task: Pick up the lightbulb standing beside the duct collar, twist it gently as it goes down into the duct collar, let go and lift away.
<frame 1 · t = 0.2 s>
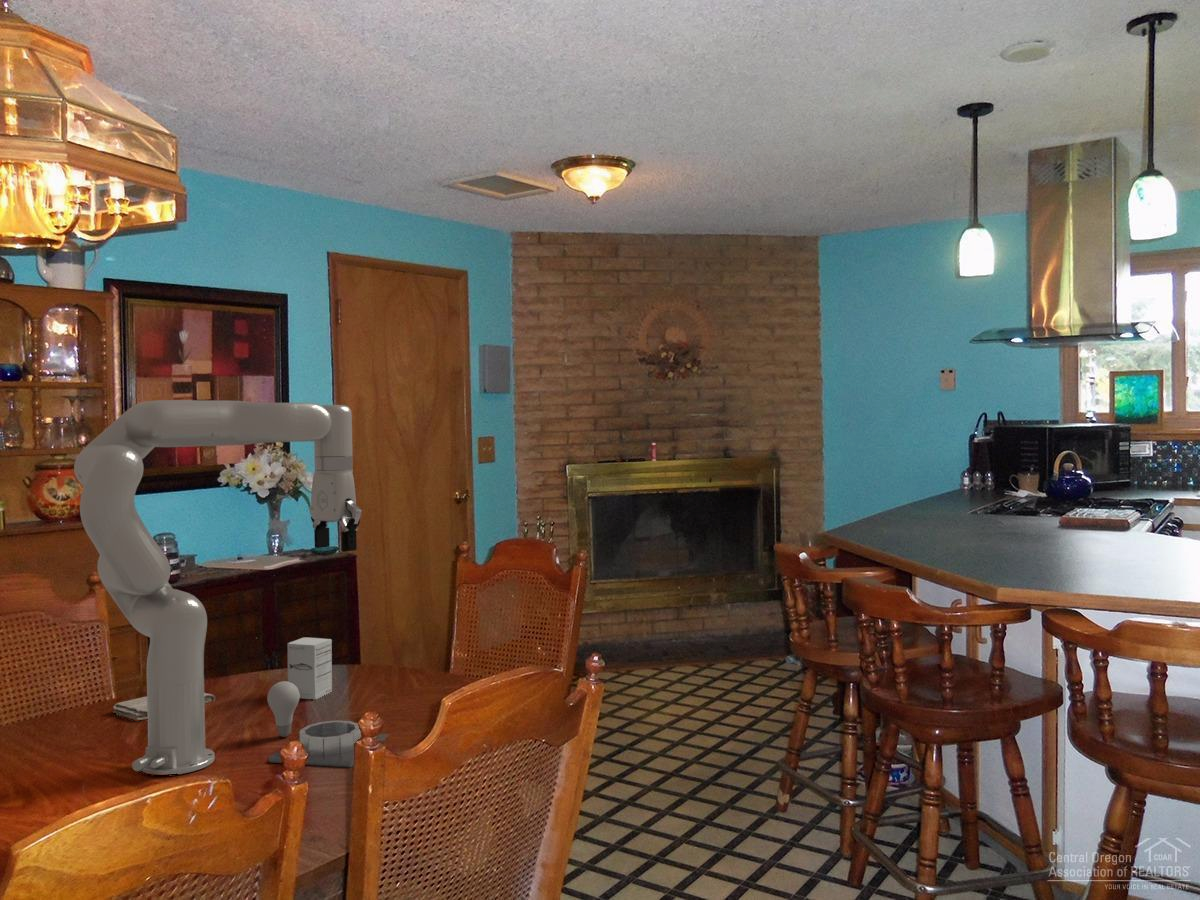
hand: (335, 549, 197), 36 cm above the table, tool pointing down, fingers open, 9 cm apart
lightbulb: (284, 738, 190), on the table
washcloth: (163, 711, 211), on the table
duct collar: (330, 750, 182), on the table
supplement box: (310, 696, 221), on the table
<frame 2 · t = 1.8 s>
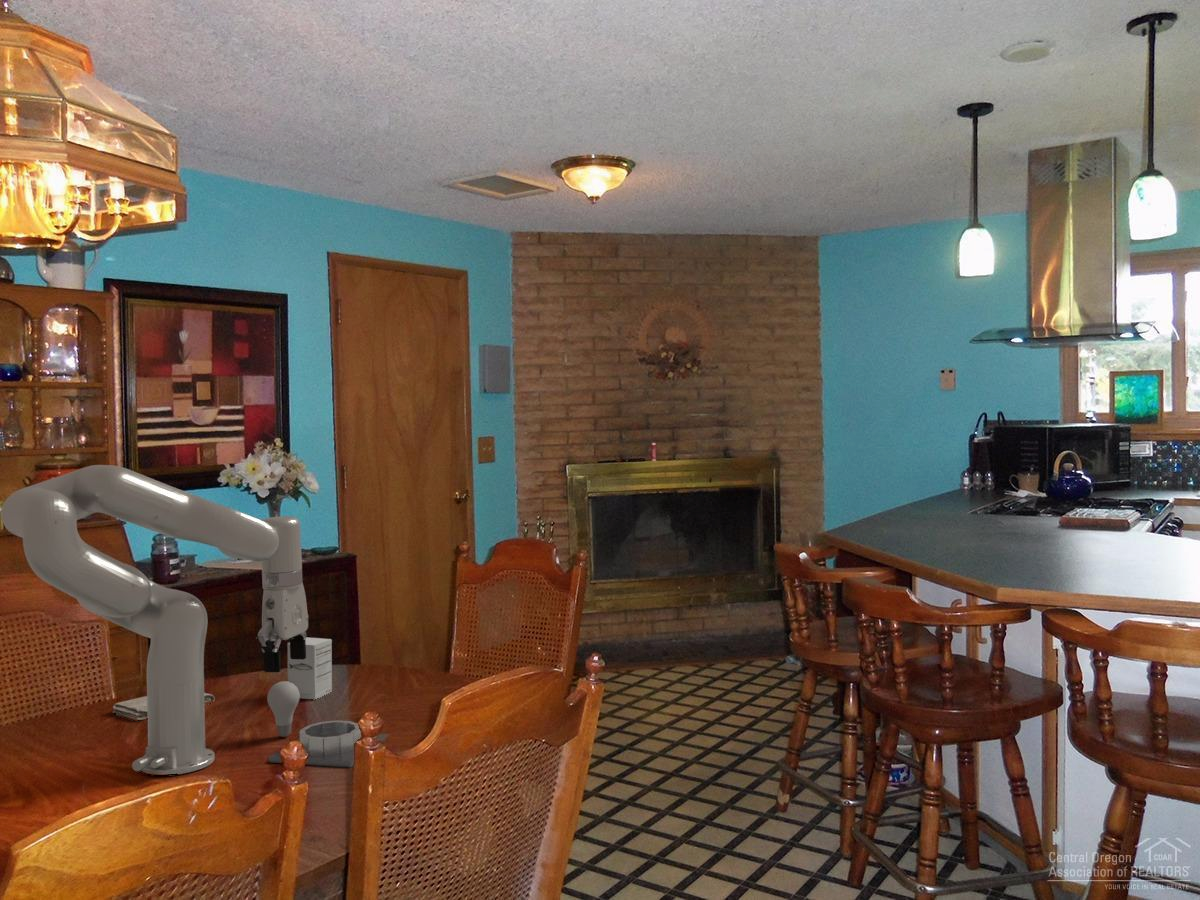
hand: (285, 665, 191), 14 cm above the table, tool pointing down, fingers open, 9 cm apart
nothing on the table moved.
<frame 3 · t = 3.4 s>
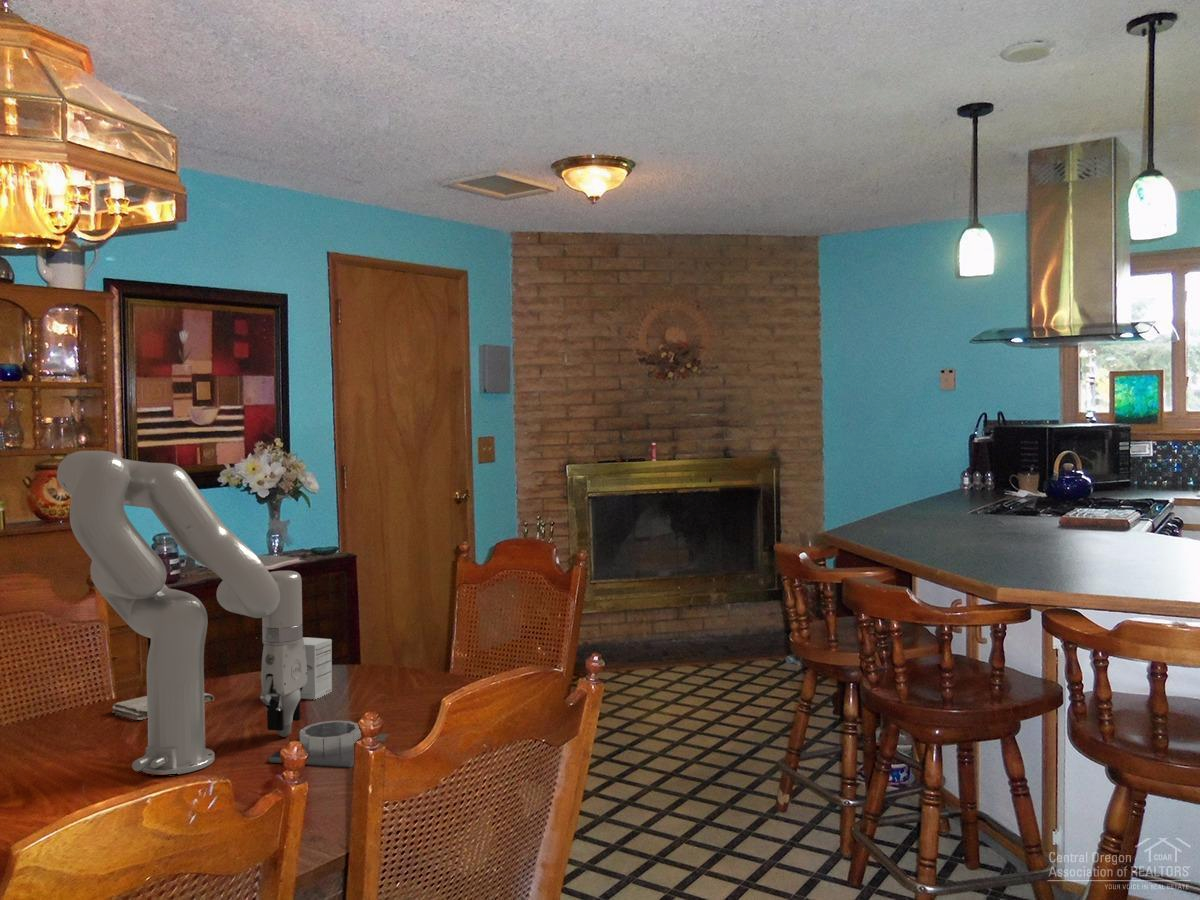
hand: (284, 724, 190), 3 cm above the table, tool pointing down, fingers closed on lightbulb, 5 cm apart
lightbulb: (284, 737, 190), on the table, touching gripper
everything else where it was.
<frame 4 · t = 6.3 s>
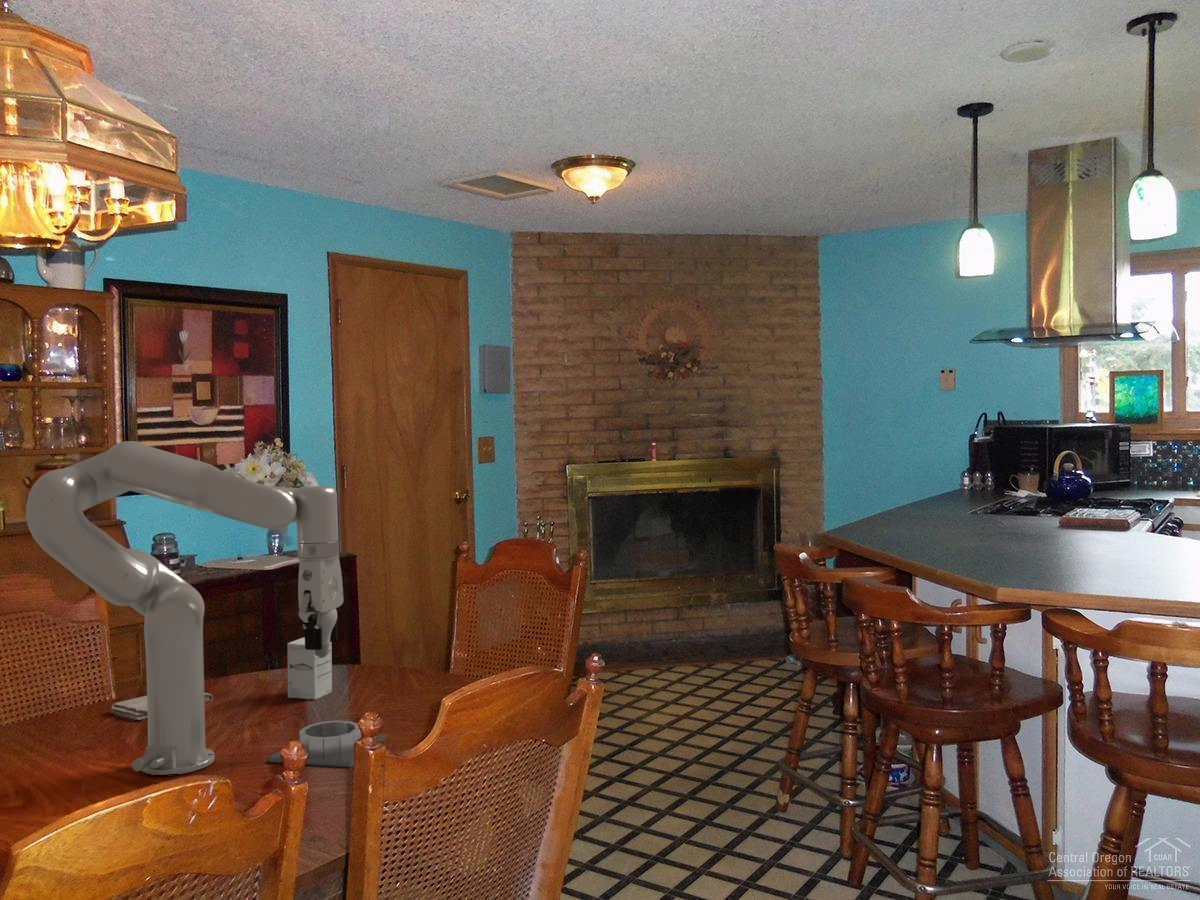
hand: (321, 644, 183), 20 cm above the table, tool pointing down, fingers closed on lightbulb, 5 cm apart
lightbulb: (321, 658, 183), point 17 cm above the table, touching gripper
everything else where it was.
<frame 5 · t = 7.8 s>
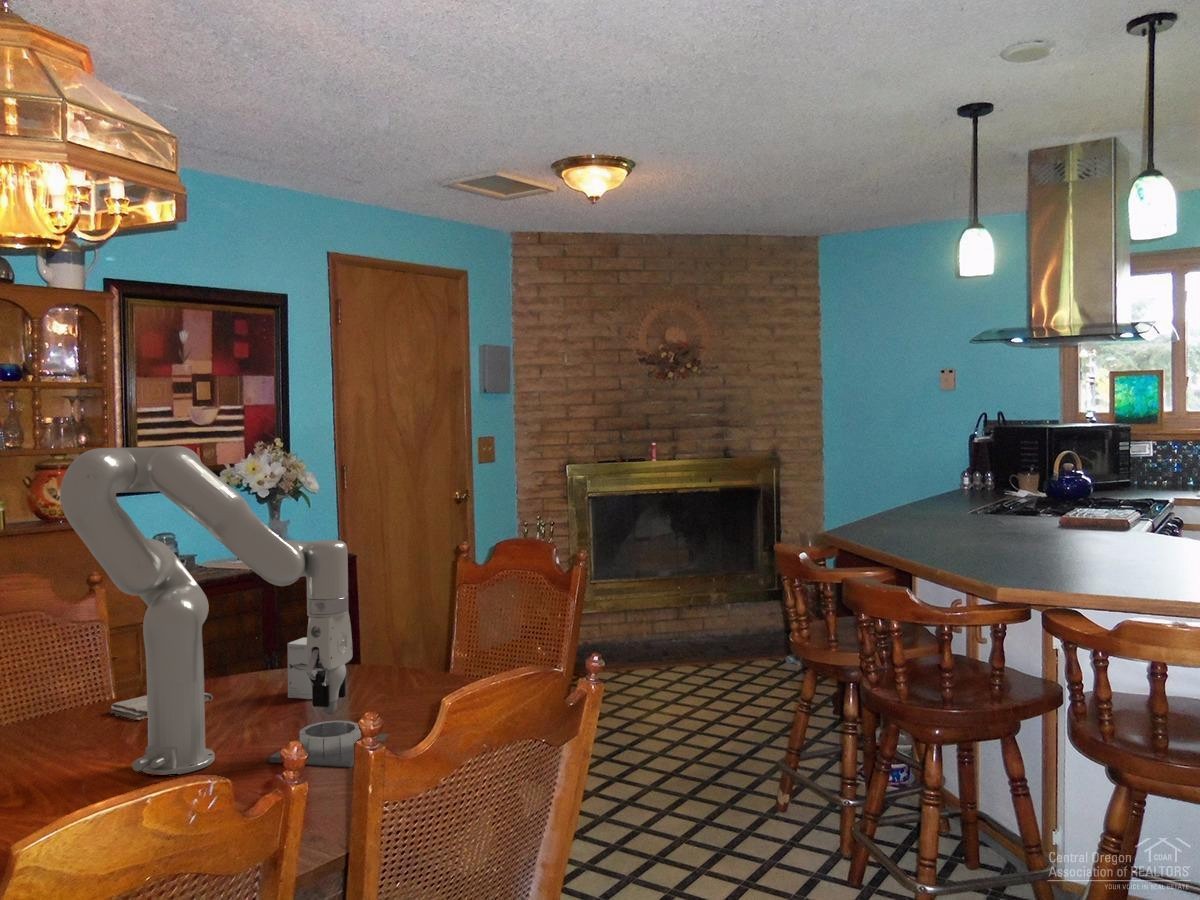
hand: (329, 700, 182), 9 cm above the table, tool pointing down, fingers closed on lightbulb, 5 cm apart
lightbulb: (329, 715, 182), point 7 cm above the table, touching gripper
everything else where it was.
when the fingers open (5 cm above the table, at t = 9.2 s): lightbulb drops 1 cm, resting on duct collar.
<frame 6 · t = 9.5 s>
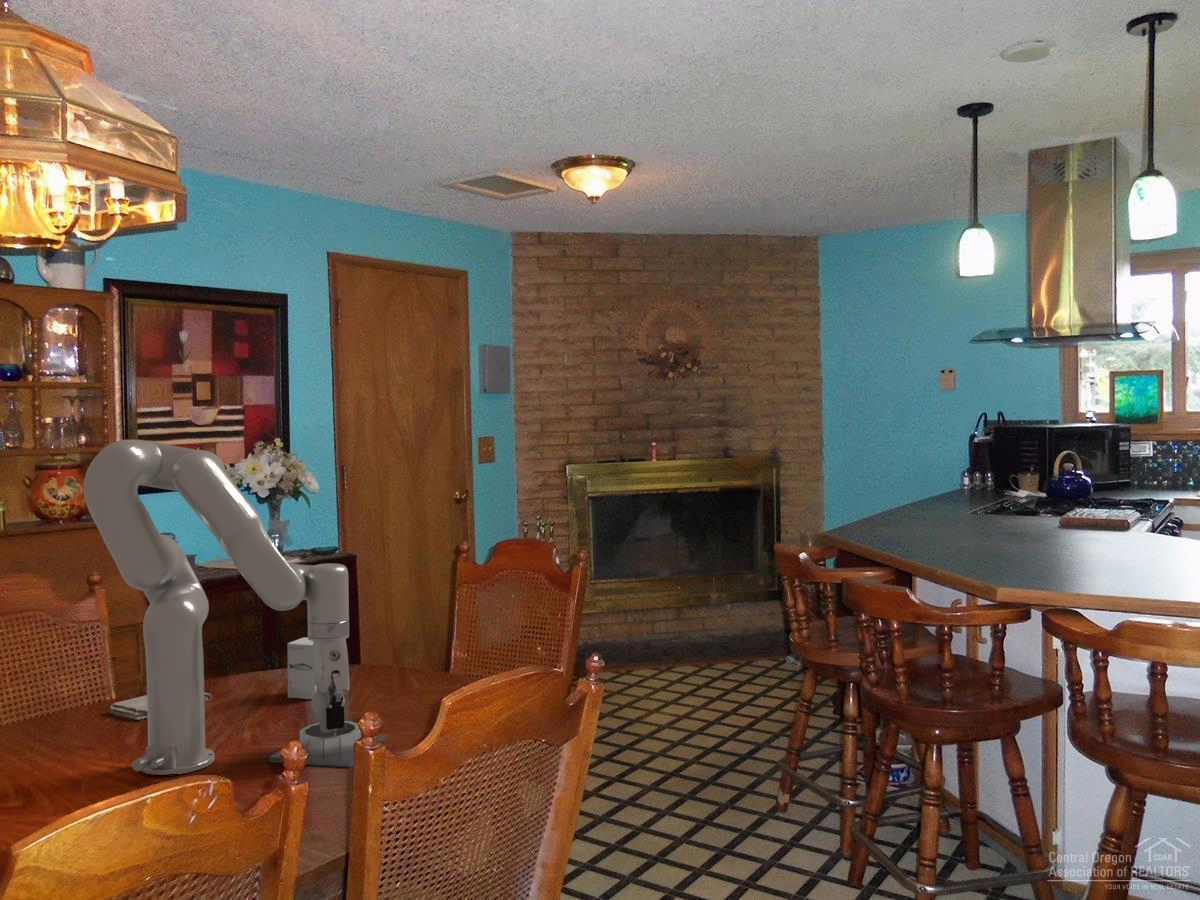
hand: (330, 721, 182), 5 cm above the table, tool pointing down, fingers open, 8 cm apart
lightbulb: (329, 745, 182), point 1 cm above the table, touching duct collar
everything else where it was.
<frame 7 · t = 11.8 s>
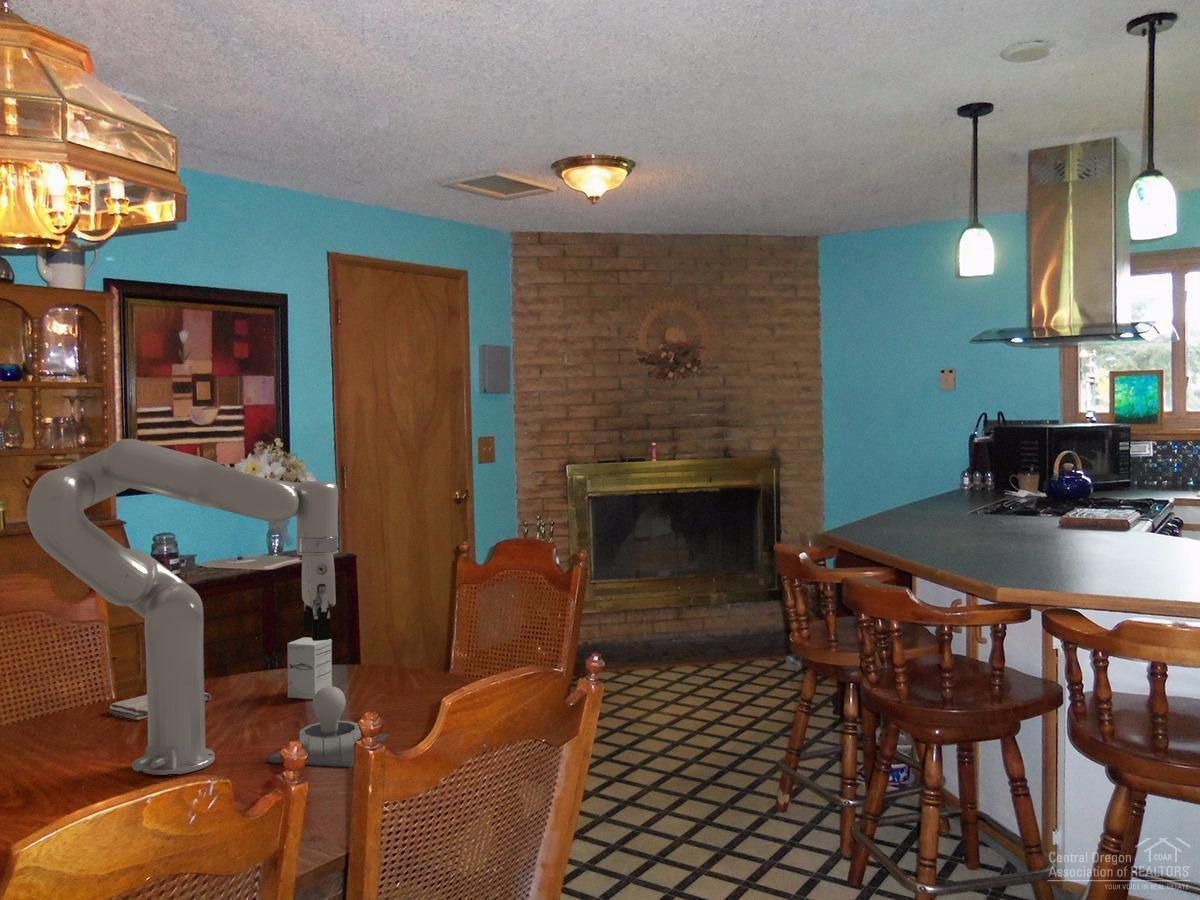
hand: (316, 635, 184), 21 cm above the table, tool pointing down, fingers open, 9 cm apart
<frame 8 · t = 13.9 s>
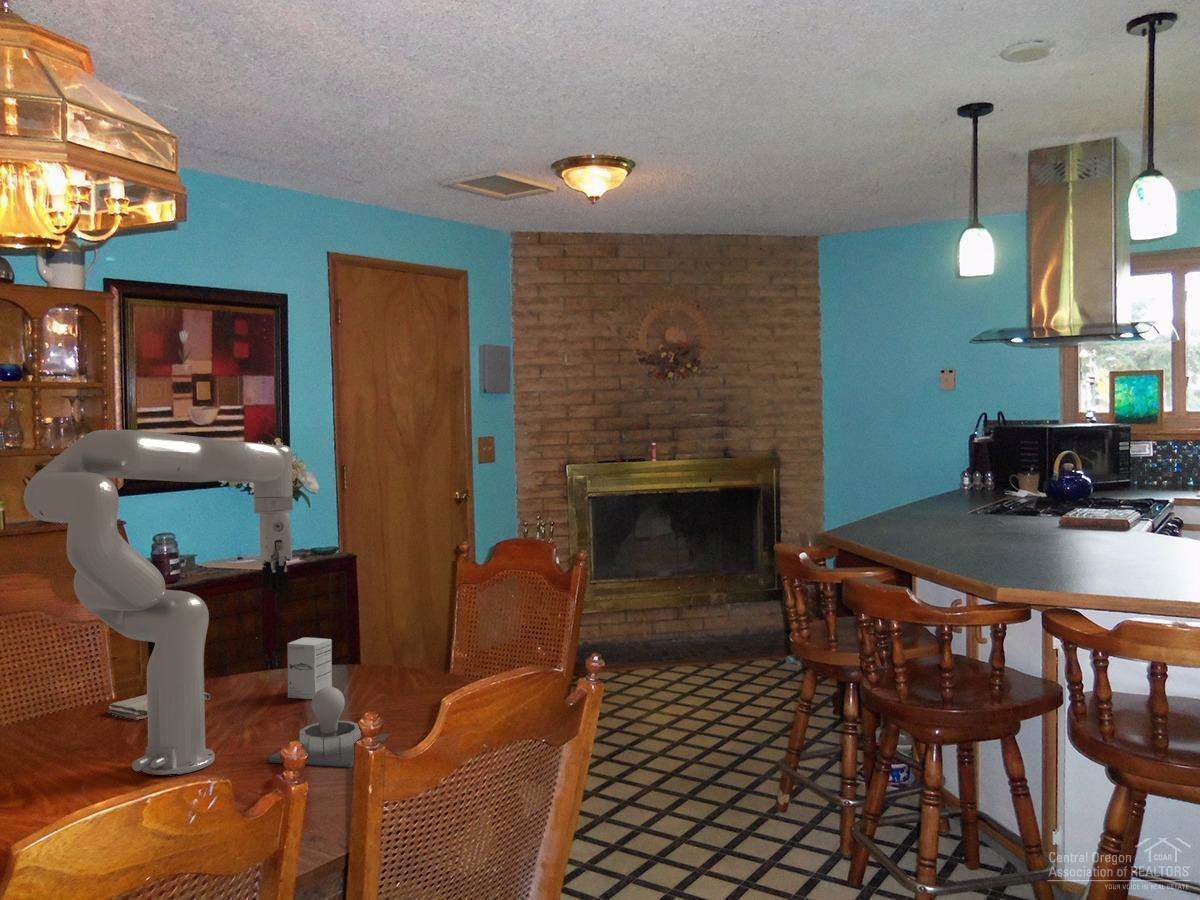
hand: (274, 588, 197), 28 cm above the table, tool pointing down, fingers open, 9 cm apart
at the end: lightbulb 0.3 cm from the duct collar (horizontally); lightbulb tilted 1°; the gripper is holding nothing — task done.
